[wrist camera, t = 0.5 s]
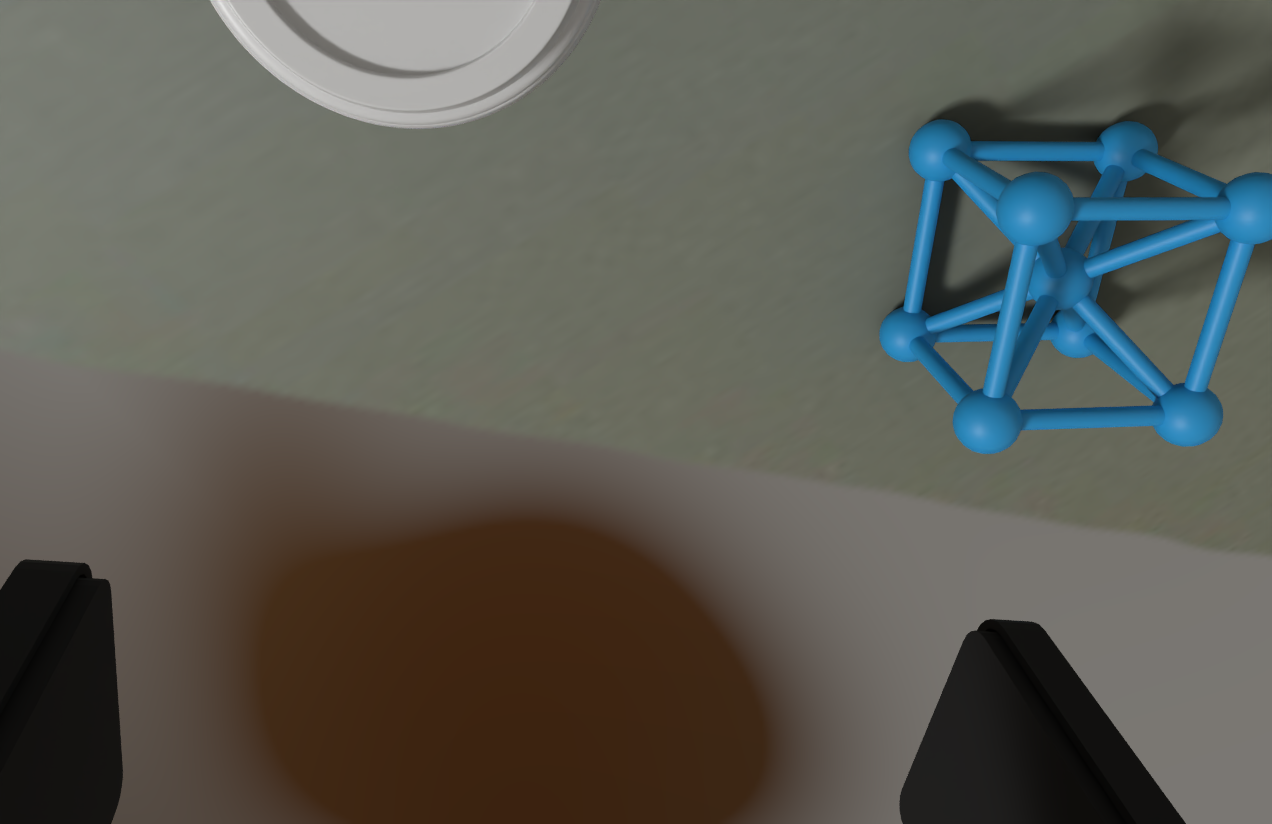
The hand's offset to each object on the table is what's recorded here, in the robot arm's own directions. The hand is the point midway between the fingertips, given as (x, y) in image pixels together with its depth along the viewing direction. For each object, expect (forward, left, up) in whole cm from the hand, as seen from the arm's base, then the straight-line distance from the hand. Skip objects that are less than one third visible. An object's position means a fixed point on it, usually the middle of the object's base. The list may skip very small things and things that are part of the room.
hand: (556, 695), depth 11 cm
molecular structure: (+2, +21, -30) cm, 37 cm away
